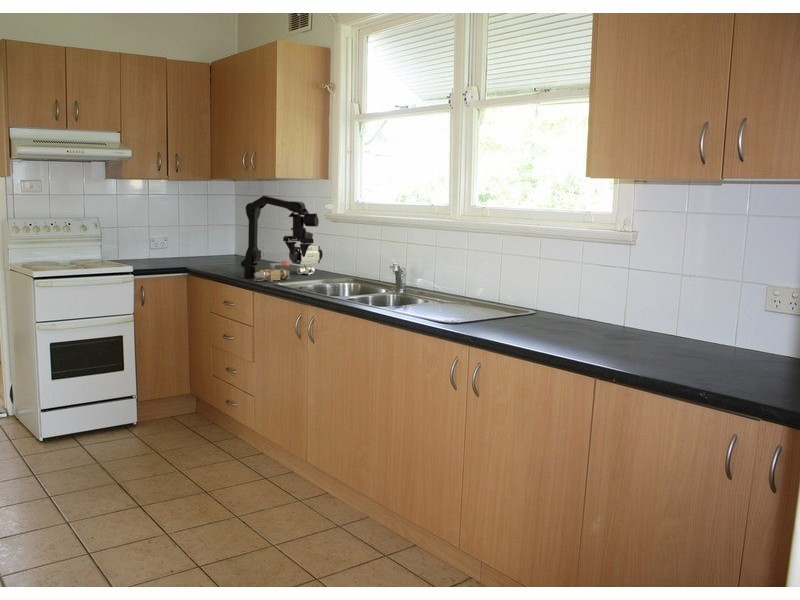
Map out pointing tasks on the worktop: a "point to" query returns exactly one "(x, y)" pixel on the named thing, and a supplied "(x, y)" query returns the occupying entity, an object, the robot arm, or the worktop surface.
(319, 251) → the ball valve
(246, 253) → the robot arm
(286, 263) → the lever
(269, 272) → the valve body
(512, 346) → the worktop surface
